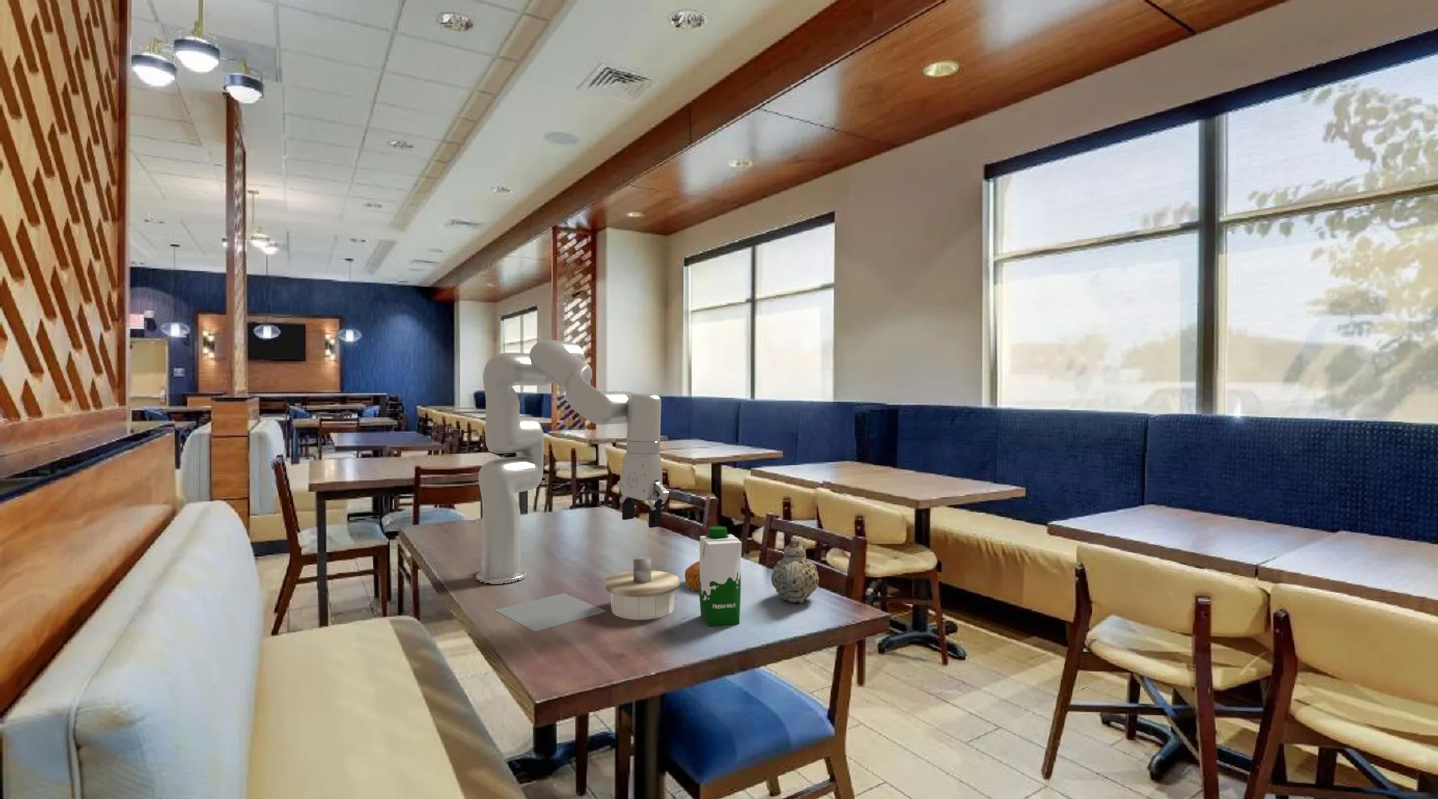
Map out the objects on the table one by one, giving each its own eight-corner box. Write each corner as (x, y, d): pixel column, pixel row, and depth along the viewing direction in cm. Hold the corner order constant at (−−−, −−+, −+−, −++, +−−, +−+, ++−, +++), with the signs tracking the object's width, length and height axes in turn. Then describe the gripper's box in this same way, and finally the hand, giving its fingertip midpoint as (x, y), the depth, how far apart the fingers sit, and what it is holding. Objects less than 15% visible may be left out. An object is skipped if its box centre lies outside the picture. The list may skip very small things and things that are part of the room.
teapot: (816, 615, 154) (817, 549, 154) (765, 611, 156) (766, 546, 156) (821, 587, 175) (822, 529, 174) (776, 584, 177) (777, 526, 177)
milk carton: (733, 611, 156) (733, 524, 155) (744, 625, 147) (745, 533, 147) (695, 614, 154) (696, 526, 153) (705, 628, 145) (706, 535, 144)
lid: (589, 584, 155) (589, 558, 155) (647, 570, 167) (648, 546, 167) (635, 602, 143) (635, 573, 143) (694, 585, 155) (695, 559, 155)
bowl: (599, 610, 156) (599, 584, 155) (647, 597, 165) (647, 572, 165) (637, 626, 146) (637, 599, 145) (685, 611, 155) (686, 585, 155)
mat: (494, 612, 154) (494, 610, 154) (563, 595, 166) (563, 593, 166) (534, 634, 141) (535, 631, 141) (606, 613, 153) (606, 611, 153)
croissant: (741, 586, 182) (743, 556, 183) (736, 596, 167) (738, 563, 168) (688, 582, 184) (690, 552, 185) (678, 592, 169) (680, 559, 170)
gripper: (607, 445, 158) (605, 518, 159) (654, 453, 146) (652, 532, 146) (633, 443, 163) (631, 514, 164) (680, 451, 151) (678, 527, 152)
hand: (641, 522), depth 155 cm, fingers open, 9 cm apart
